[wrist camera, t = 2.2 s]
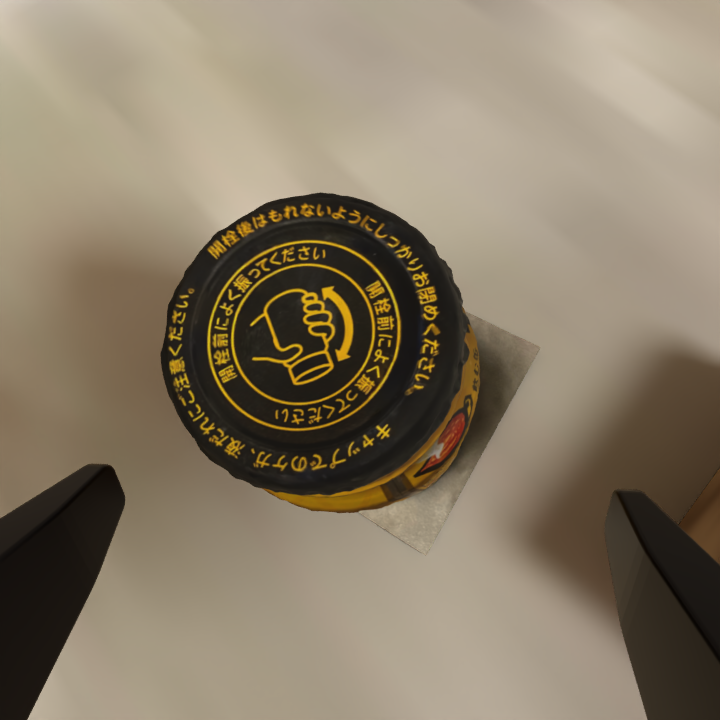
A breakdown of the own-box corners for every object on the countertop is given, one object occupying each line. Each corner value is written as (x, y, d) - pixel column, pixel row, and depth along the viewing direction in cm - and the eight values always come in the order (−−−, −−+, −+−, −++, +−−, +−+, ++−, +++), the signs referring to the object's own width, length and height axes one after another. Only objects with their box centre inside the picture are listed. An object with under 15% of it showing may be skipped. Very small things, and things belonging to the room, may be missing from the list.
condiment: (258, 449, 21) (31, 403, 9) (370, 264, 22) (292, 14, 10) (426, 555, 19) (407, 662, 7) (539, 349, 20) (675, 165, 9)
